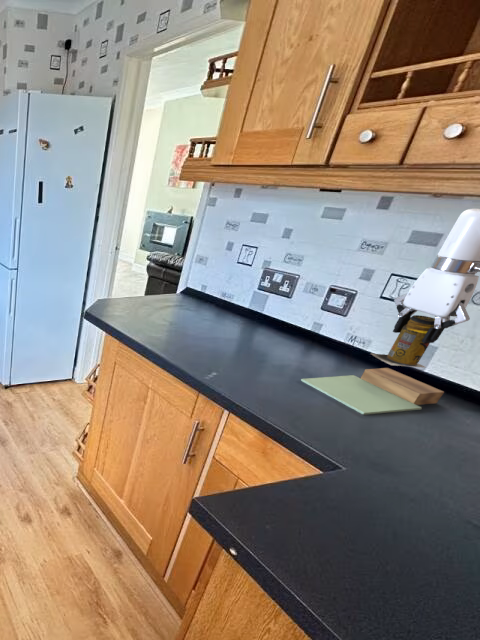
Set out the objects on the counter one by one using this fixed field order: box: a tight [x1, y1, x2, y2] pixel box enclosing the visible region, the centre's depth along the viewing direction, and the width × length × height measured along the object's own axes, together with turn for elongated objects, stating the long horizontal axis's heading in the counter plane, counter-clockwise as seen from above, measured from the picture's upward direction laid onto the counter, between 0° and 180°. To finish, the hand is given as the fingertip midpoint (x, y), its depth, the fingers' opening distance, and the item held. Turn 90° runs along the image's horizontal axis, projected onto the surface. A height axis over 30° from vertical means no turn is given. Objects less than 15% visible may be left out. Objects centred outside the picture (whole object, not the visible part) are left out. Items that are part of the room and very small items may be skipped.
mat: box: [300, 374, 423, 416], centre depth 112 cm, size 18×18×1 cm
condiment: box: [370, 314, 435, 368], centre depth 106 cm, size 7×8×12 cm
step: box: [359, 367, 445, 406], centre depth 113 cm, size 8×14×4 cm, turn 10°
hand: (412, 336), depth 105 cm, fingers closed on condiment, 6 cm apart
